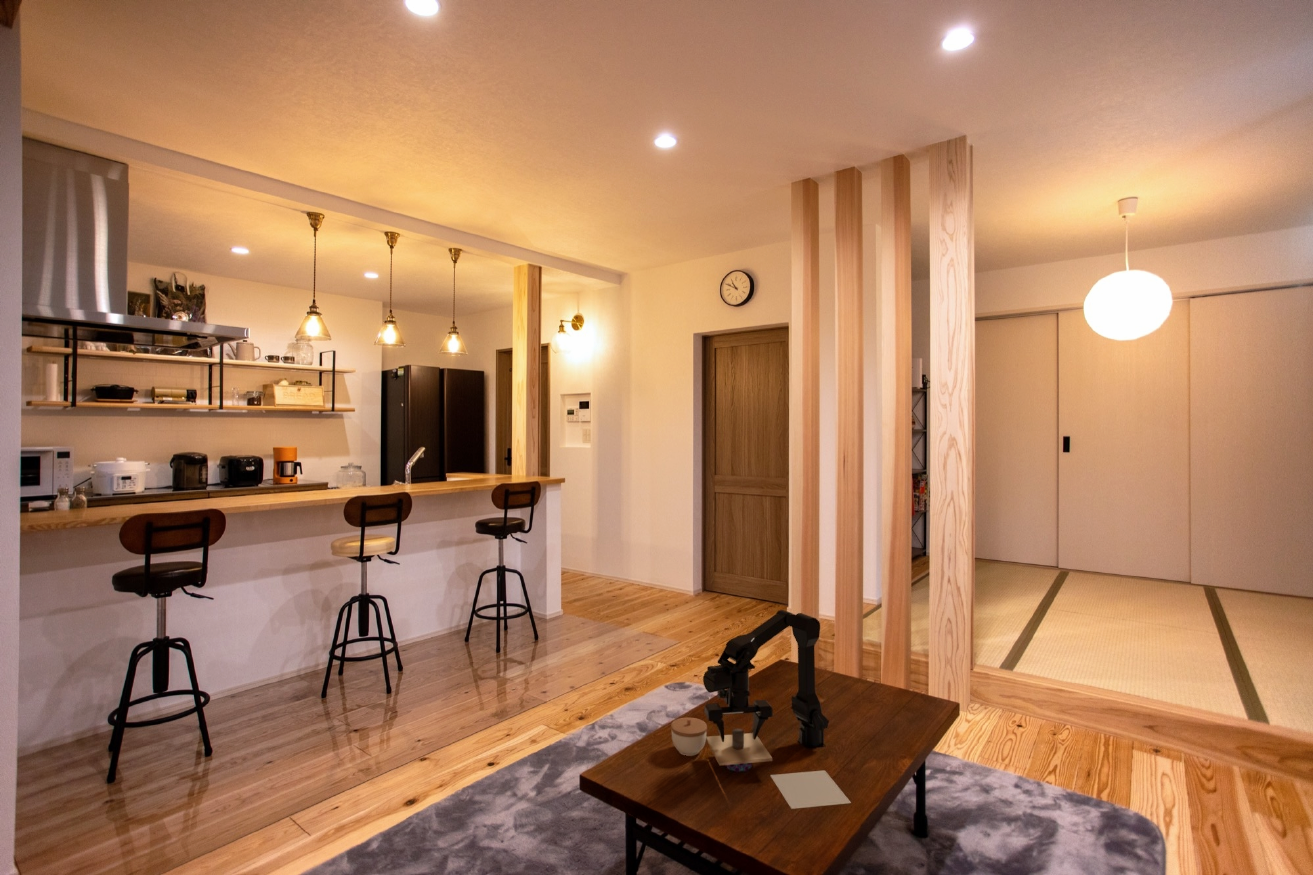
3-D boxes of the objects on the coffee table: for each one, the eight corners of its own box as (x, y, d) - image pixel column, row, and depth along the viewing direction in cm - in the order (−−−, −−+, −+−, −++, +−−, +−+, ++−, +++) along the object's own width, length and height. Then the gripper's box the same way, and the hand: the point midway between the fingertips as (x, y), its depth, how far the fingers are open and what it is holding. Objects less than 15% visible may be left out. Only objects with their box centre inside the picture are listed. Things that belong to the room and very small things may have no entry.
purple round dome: (755, 782, 174) (755, 763, 174) (712, 775, 178) (712, 756, 178) (762, 761, 186) (762, 743, 185) (722, 754, 189) (722, 737, 189)
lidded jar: (704, 761, 184) (704, 729, 184) (668, 757, 187) (668, 725, 186) (708, 744, 195) (709, 713, 195) (674, 740, 197) (674, 710, 197)
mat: (824, 772, 179) (824, 770, 179) (851, 805, 163) (851, 802, 163) (770, 777, 176) (770, 775, 176) (791, 810, 160) (791, 808, 160)
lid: (754, 735, 190) (754, 717, 190) (772, 760, 176) (772, 741, 176) (706, 739, 188) (706, 721, 188) (719, 765, 173) (719, 745, 173)
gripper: (760, 673, 191) (760, 725, 191) (700, 676, 188) (700, 729, 188) (773, 687, 180) (773, 742, 180) (709, 691, 177) (709, 747, 177)
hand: (738, 740), depth 182 cm, fingers open, 9 cm apart
